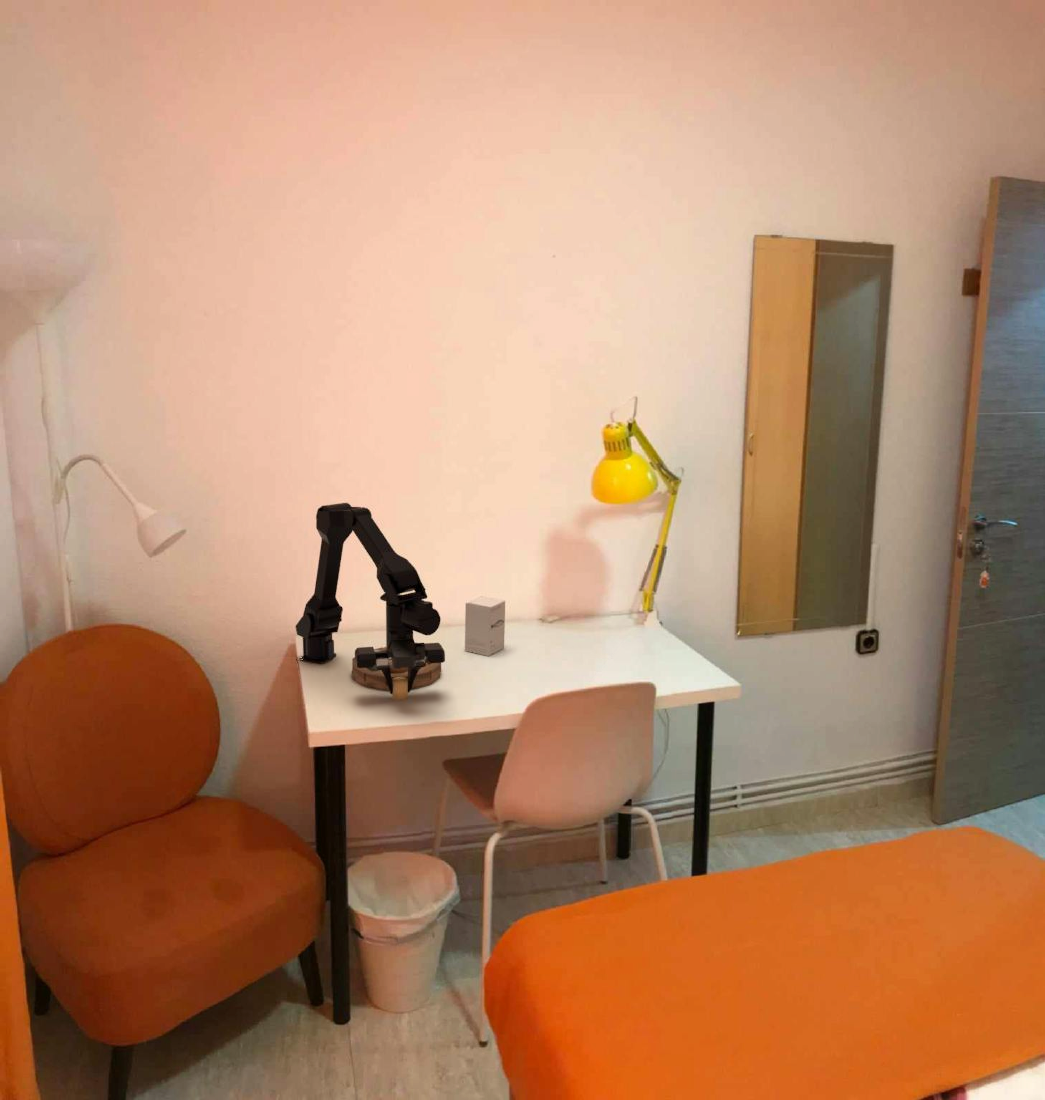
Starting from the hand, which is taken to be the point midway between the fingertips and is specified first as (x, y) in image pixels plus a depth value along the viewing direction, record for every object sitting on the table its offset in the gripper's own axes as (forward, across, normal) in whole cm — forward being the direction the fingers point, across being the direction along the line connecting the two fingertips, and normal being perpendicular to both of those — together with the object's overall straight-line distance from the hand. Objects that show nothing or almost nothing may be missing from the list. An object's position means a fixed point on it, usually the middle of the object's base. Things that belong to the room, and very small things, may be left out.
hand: (400, 692), depth 215 cm
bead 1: (0, -4, +15) cm, 16 cm away
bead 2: (+1, 0, 0) cm, 1 cm away
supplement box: (+1, +25, +27) cm, 36 cm away
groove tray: (+1, +1, +14) cm, 14 cm away
